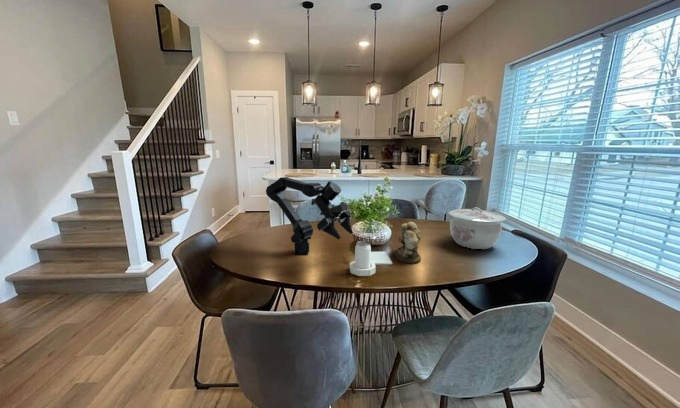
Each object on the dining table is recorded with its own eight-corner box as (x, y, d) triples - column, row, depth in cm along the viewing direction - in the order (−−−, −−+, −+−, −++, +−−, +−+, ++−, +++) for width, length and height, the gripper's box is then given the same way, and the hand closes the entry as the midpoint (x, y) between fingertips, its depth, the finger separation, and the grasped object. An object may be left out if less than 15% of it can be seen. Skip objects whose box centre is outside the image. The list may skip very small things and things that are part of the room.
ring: (351, 276, 115) (351, 270, 114) (349, 265, 125) (349, 260, 125) (376, 275, 115) (377, 270, 115) (372, 265, 126) (372, 259, 125)
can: (365, 275, 116) (366, 247, 113) (351, 271, 119) (352, 244, 117) (372, 269, 121) (373, 242, 119) (359, 266, 125) (359, 239, 122)
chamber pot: (501, 259, 134) (507, 216, 130) (440, 248, 148) (444, 209, 144) (502, 242, 158) (507, 205, 154) (450, 234, 171) (453, 200, 167)
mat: (360, 264, 126) (360, 263, 126) (357, 253, 140) (357, 251, 140) (392, 264, 127) (392, 263, 127) (385, 252, 141) (385, 251, 140)
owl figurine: (389, 250, 144) (391, 217, 141) (411, 250, 146) (414, 217, 142) (400, 264, 127) (402, 227, 123) (426, 264, 128) (429, 227, 125)
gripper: (322, 199, 114) (345, 231, 111) (348, 193, 129) (369, 220, 126) (307, 215, 121) (328, 245, 117) (334, 207, 136) (353, 234, 132)
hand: (345, 236), depth 123 cm, fingers open, 9 cm apart
